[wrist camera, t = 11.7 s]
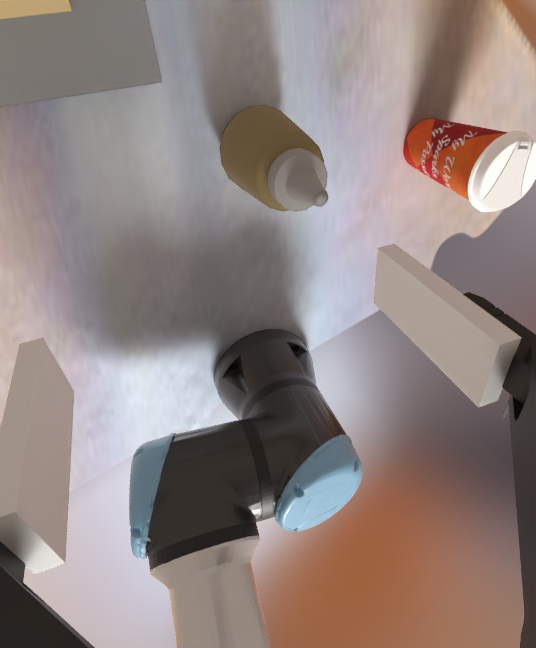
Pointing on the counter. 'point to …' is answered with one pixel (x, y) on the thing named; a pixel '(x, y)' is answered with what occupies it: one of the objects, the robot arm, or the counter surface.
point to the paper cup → (474, 161)
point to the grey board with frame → (73, 48)
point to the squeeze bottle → (274, 160)
